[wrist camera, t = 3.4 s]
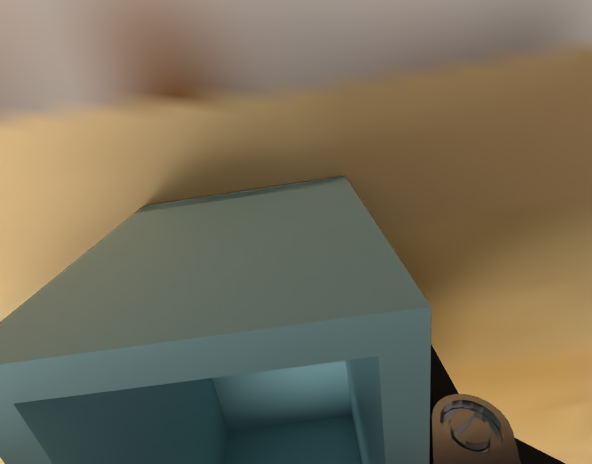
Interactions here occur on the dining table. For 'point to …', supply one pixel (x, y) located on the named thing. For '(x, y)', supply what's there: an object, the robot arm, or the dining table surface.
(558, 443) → the dining table surface
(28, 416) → the teal crate
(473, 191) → the dining table surface
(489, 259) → the dining table surface
